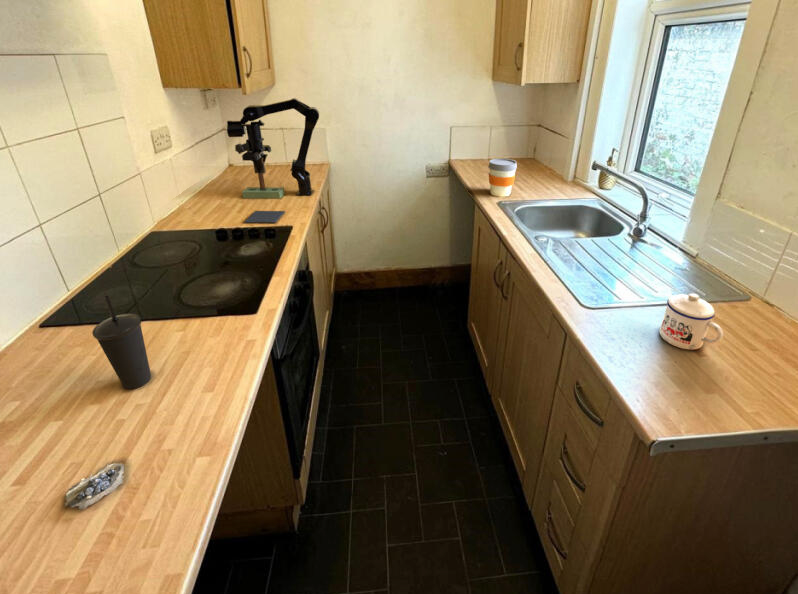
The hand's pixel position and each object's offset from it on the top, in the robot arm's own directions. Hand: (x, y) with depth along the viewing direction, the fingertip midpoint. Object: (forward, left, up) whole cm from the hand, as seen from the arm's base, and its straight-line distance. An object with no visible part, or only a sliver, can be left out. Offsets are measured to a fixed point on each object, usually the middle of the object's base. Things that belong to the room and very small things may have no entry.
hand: (260, 171), depth 186 cm
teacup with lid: (+102, +134, -12) cm, 169 cm away
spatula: (0, 0, -8) cm, 8 cm away
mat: (+27, +10, -11) cm, 31 cm away
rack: (0, 0, -11) cm, 11 cm away
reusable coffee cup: (-6, +109, -12) cm, 110 cm away
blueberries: (+139, +24, -12) cm, 141 cm away
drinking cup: (+117, +16, -12) cm, 119 cm away
